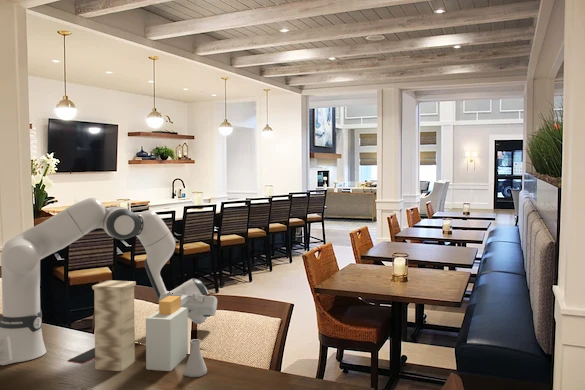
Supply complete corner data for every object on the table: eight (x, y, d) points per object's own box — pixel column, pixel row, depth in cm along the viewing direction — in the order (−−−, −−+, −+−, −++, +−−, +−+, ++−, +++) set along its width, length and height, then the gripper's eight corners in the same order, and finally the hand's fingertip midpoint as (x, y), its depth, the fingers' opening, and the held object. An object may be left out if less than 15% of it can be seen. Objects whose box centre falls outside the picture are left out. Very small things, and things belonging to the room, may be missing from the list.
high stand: (93, 369, 156) (92, 285, 155) (108, 359, 164) (107, 280, 163) (123, 371, 154) (122, 287, 153) (136, 361, 163) (135, 281, 162)
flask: (202, 378, 149) (201, 345, 149) (179, 376, 151) (178, 343, 150) (211, 369, 156) (210, 337, 156) (189, 367, 158) (189, 336, 157)
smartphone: (65, 360, 163) (95, 346, 176) (65, 362, 163) (95, 348, 176) (83, 363, 161) (112, 348, 174) (83, 365, 161) (112, 350, 174)
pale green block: (146, 369, 156) (145, 318, 156) (165, 353, 170) (164, 306, 169) (170, 371, 155) (170, 319, 154) (187, 355, 169) (187, 307, 168)
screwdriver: (171, 314, 160) (170, 302, 160) (159, 313, 160) (159, 301, 160) (190, 301, 176) (190, 289, 176) (180, 300, 177) (180, 289, 177)
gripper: (168, 296, 188) (154, 285, 176) (221, 299, 185) (210, 287, 172) (165, 313, 185) (150, 302, 173) (218, 316, 182) (207, 305, 170)
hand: (181, 295), depth 173 cm, fingers open, 8 cm apart
